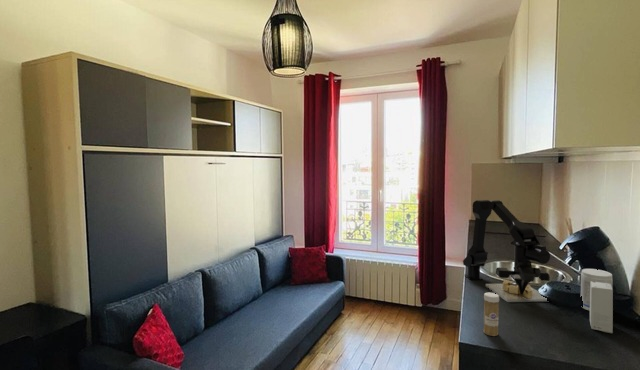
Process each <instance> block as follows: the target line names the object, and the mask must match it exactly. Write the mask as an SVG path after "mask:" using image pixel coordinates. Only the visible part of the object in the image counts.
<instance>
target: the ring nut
mask: <svg viewBox="0 0 640 370" xmlns="http://www.w3.org/2000/svg"><path fill="white" fill-rule="evenodd" d="M512 282H515V280H514V279H513V281H510V280H503V282H502V284H503V289H504V290H505V291H507V292H509V293H514V294H520V292H519V289H518V286H514V285H512ZM530 287H531V285H530V284H528V285H527V286H526V288H525V290H524V293H523V294H520V295H523V296H525V297H526V298H532V290H530Z"/></svg>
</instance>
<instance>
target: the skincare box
mask: <svg viewBox="0 0 640 370" xmlns="http://www.w3.org/2000/svg"><path fill="white" fill-rule="evenodd" d="M613 293H614V289H613V285H612V286H611V284H608V283H600V282H592V281H591V282H590V311H589V323H590V324H589V325H590V328H591V329H592V330H595V331H601V332H604V333H609V334H613V333H614V331H613V329H614V328H613V325H614V324H613V323H614V321H613V318H614V316H613V314H614V312H613V311H614V308H613V305H614V303H613V301H614V299H613V296H614V295H613Z"/></svg>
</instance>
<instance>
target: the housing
mask: <svg viewBox="0 0 640 370" xmlns="http://www.w3.org/2000/svg"><path fill="white" fill-rule="evenodd" d="M511 282H512V285H514V286H517V284H516V282H514V281H511ZM485 287H486V288H487V289H488V288H489V291H491V290H492V291H491V292H492V293H496V294H497V295H499V298H501V299H502V300H504V301H506V302H507V303H526V302H527V303H528V302H529V303H530V302H534V303H537V302H548V301H547V298H545V297H543V296H541V295H540V294H539V292H540V291H539V290H537V289H535V288H533V287H532V286H530V290H532V298H526V297H525V296H523V295H520V294H514V293H509V292H507V291H505V290H504V289H503V283H485Z"/></svg>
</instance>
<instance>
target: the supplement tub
mask: <svg viewBox="0 0 640 370" xmlns="http://www.w3.org/2000/svg"><path fill="white" fill-rule="evenodd" d="M597 269H598V268H597ZM597 269H596V268H583V269H581V274H580V297H581V296H582V301H583V307H582V309H584V310H587V311H588V312H590V282H591V281H592V282H600V283H608V284H611V286H612V287H613V281H614V280H613V274H612V273H611V272H609V271H606V270H602V269H598V270H597Z"/></svg>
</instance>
